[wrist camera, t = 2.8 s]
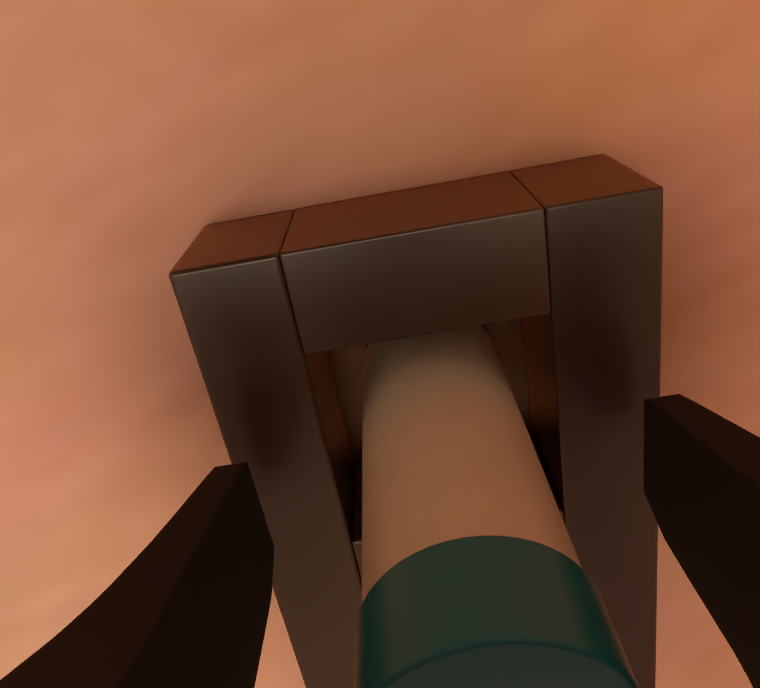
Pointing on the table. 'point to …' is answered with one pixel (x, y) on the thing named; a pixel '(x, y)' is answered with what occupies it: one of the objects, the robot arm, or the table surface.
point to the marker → (466, 534)
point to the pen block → (430, 315)
